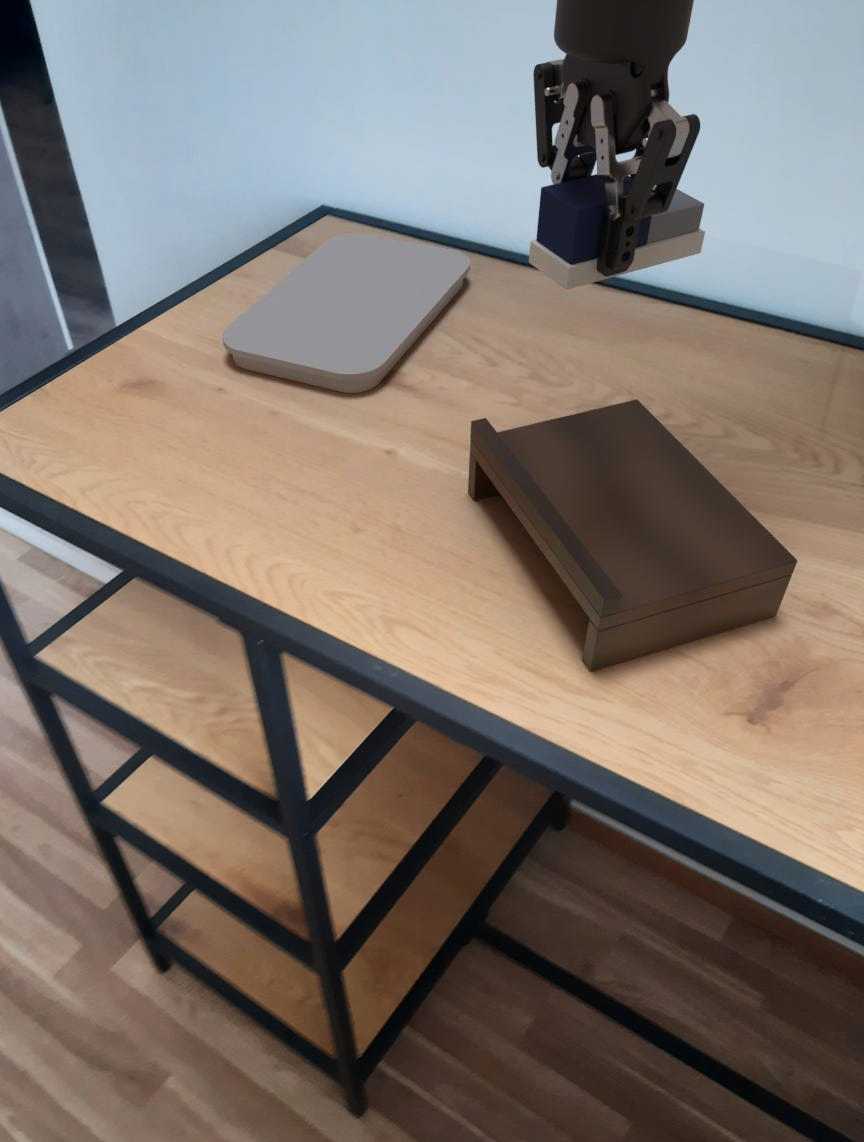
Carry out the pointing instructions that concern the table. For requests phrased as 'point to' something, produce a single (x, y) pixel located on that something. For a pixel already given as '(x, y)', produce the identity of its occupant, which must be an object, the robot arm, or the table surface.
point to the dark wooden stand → (632, 528)
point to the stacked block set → (577, 228)
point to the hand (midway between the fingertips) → (589, 255)
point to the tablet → (347, 311)
